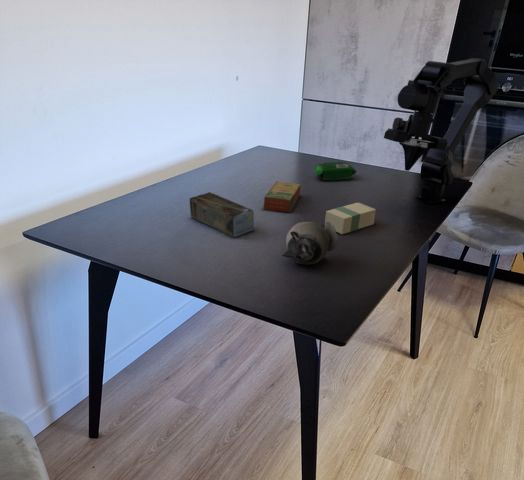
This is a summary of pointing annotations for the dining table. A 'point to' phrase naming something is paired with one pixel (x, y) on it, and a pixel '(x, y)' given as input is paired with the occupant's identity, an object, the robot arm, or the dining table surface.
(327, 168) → the snack package
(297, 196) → the carton
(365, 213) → the tea box
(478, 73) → the robot arm
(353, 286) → the dining table surface
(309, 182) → the dining table surface
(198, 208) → the beverage carton
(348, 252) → the dining table surface
